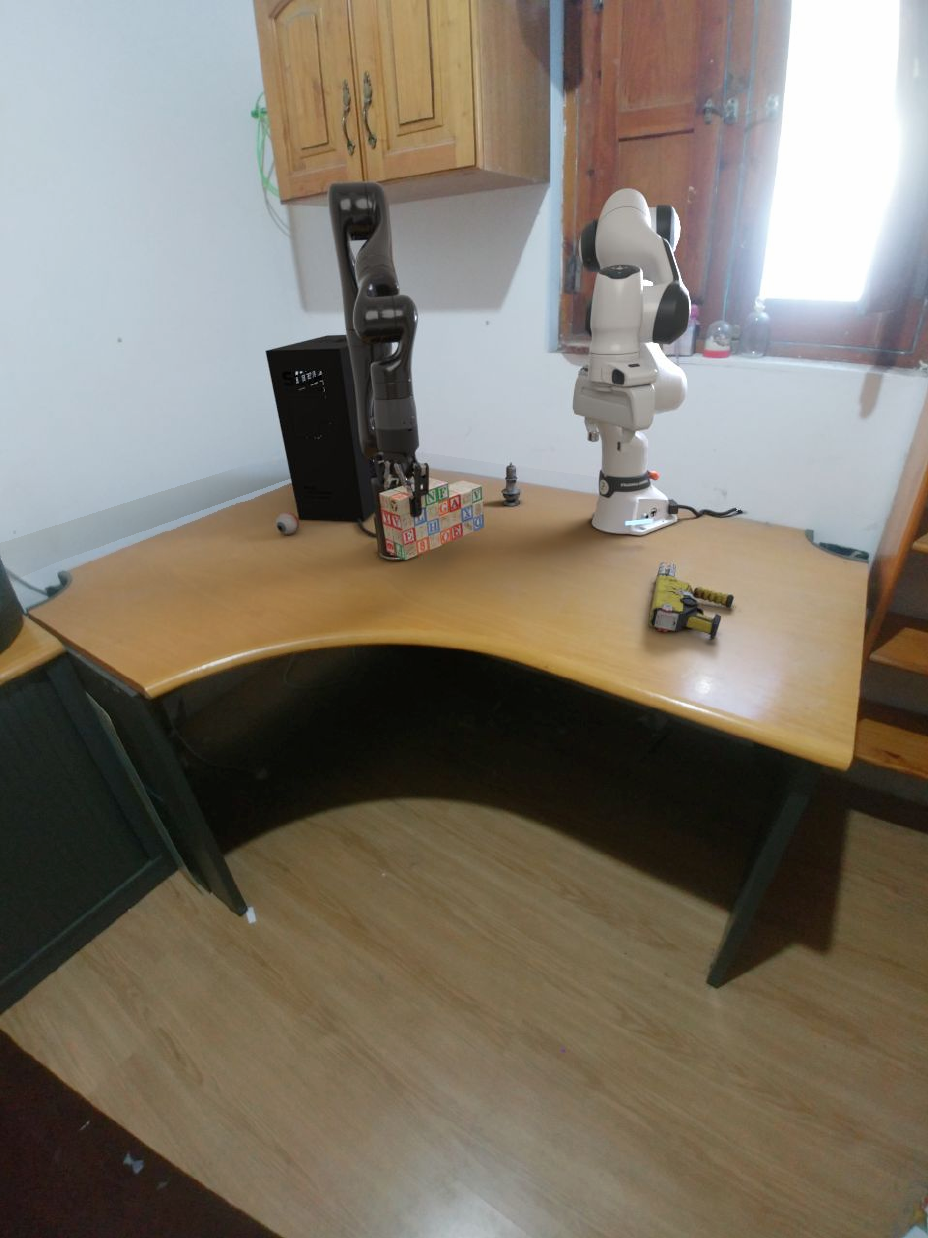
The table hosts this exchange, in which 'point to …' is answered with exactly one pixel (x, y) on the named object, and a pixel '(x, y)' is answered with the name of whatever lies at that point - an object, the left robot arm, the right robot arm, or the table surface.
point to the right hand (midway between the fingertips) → (607, 445)
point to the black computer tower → (321, 429)
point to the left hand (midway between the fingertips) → (405, 511)
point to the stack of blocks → (430, 517)
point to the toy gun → (683, 604)
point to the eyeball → (287, 523)
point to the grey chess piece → (511, 487)
